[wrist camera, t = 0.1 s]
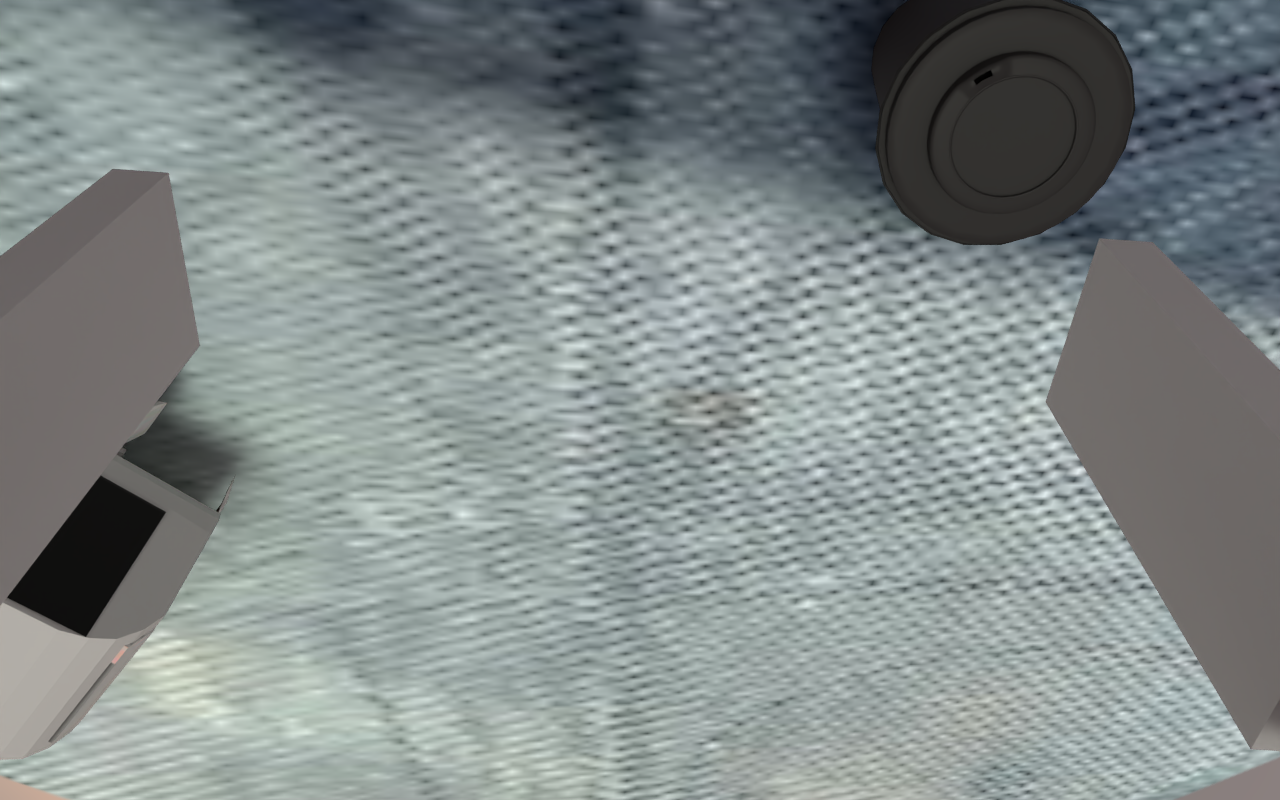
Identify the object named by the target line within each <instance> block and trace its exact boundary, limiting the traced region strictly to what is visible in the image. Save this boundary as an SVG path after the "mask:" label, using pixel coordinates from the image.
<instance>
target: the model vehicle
mask: <svg viewBox="0 0 1280 800" xmlns="http://www.w3.org/2000/svg"><path fill="white" fill-rule="evenodd" d="M167 403H168V402H161V401H157V402H156V403H155V405H154V406H153V407H152V409H151V410H150V411H149V413H148V414H147V415H146V416H145V418H144V419H143V420H142V422H141V423H140V424H139V426H138V427H137V428H136V430H135V431H134V432H133V433H132V435H131V436H130V437H129V439H128V440H127V441H126V443H127V442H129V441H131V440H133V439H135V438H137V437H139V436H141V435H143V434H145V433H146V431H147V430H148V429H149V427H150V426H151V425H152V423H153V422H154V420H155V419H156V418H157V416H158V415H159V414H160V412H161V411H162V410H163V408H164V407H165V405H166V404H167ZM125 452H126V449H124V448H121V449H120V450H119V452H118V453H117V454H116V456H115V457H114V458H113V460H112V461H111V462H110V464H109V465H108V466H107V467H106V469H105V470H104V471H103V473H102V474H101V475H100V477H99V478H98V479H97V481H96V482H95V483H94V484H93V486H92V487H91V488H90V490H89V491H88V492H87V494H86V495H85V496H84V497H83V499H82V500H81V501H80V503H79V504H78V505H77V507H76V508H75V509H74V511H73V512H72V513H71V514H70V516H69V517H68V518H67V520H66V521H65V522H64V524H63V525H62V526H61V528H60V529H59V530H58V531H57V533H56V534H55V535H54V537H53V538H52V539H51V541H50V542H49V543H48V545H47V546H46V547H45V548H44V550H43V551H42V552H41V554H40V555H39V556H38V558H37V559H36V560H35V562H34V563H33V564H32V565H31V567H30V568H29V569H28V571H27V572H26V573H25V575H24V576H23V577H22V578H21V580H20V581H19V582H18V584H17V585H16V586H15V588H14V589H13V590H12V592H11V593H10V594H9V595H8V597H7V598H6V599H5V601H4V602H3V603H2V605H1V606H0V760H5V759H23V758H26V757H28V756H30V755H33V754H35V753H38V752H40V751H42V750H45V749H47V748H49V747H51V746H52V745H53V744H55V743H56V742H57V741H59V740H60V739H62V738H63V737H64V736H66V735H67V734H68V733H70V732H71V731H72V730H73V729H74V728H75V727H76V726H77V725H78V724H79V723H80V721H81V720H82V719H83V718H84V716H85V715H86V714H87V713H88V711H89V710H90V709H91V708H92V706H93V705H94V704H95V703H96V702H97V700H98V699H99V698H100V697H101V695H102V694H103V693H104V692H105V690H106V689H107V688H108V687H109V685H110V684H111V683H112V682H113V680H114V679H115V678H116V677H117V676H118V674H119V673H120V672H121V671H122V669H123V668H124V667H125V666H126V664H127V663H128V662H129V661H130V659H131V658H132V657H133V656H134V654H135V653H136V652H137V651H138V649H139V648H140V647H141V646H142V645H143V643H144V642H145V641H146V640H147V638H148V637H149V636H150V635H151V633H152V632H153V631H154V629H155V627H156V626H157V625H158V623H159V622H160V621H161V620H162V618H163V617H164V616H165V615H166V613H167V611H168V609H169V608H170V606H171V604H172V602H173V601H174V599H175V597H176V595H177V593H178V592H179V590H180V588H181V586H182V585H183V583H184V581H185V579H186V578H187V576H188V574H189V572H190V571H191V569H192V567H193V565H194V564H195V562H196V560H197V558H198V557H199V555H200V553H201V551H202V550H203V548H204V546H205V544H206V542H207V541H208V539H209V537H210V535H211V534H212V532H213V530H214V528H215V526H216V524H217V523H218V521H219V518H220V512H221V511H222V510H223V507H224V506H225V504H226V503H227V500H228V497H229V494H230V491H231V487H232V484H233V481H234V478H235V476H234V478H233V479H232V480H233V481H231V484H230V486H229V488H228V490H227V492H226V495H225V497H224V499H223V501H222V503H221V505H220V506H219V508H218V509H217V510H216V511H215V510H213V509H211V508H210V507H208V506H206V505H204V504H203V503H201V502H199V501H197V500H195V499H194V498H192V497H190V496H188V495H187V494H185V493H183V492H181V491H180V490H178V489H176V488H174V487H173V486H171V485H169V484H167V483H166V482H164V481H162V480H160V479H159V478H157V477H155V476H153V475H152V474H150V473H148V472H146V471H144V470H143V469H141V468H139V467H137V466H136V465H134V464H132V463H130V462H129V461H127V460H125V459H123V458H122V456H123V455H124V453H125ZM235 475H236V474H235Z"/></svg>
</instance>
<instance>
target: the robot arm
mask: <svg viewBox="0 0 1280 800" xmlns="http://www.w3.org/2000/svg"><path fill="white" fill-rule="evenodd" d="M199 346H200V344H199V338H198V333H197V327H196V322H195V316H194V311H193V305H192V300H191V294H190V289H189V283H188V278H187V272H186V267H185V261H184V255H183V250H182V244H181V239H180V233H179V228H178V222H177V217H176V211H175V206H174V200H173V195H172V189H171V184H170V178H169V173H163V172H149V171H135V170H120V169H112V170H111V171H110V172H108V173H107V174H106V175H105V176H103V177H102V178H101V179H99V180H98V181H97V182H96V183H94V184H93V185H92V186H90V187H89V188H88V189H87V190H85V191H84V192H83V193H81V194H80V195H79V196H77V197H76V198H75V199H74V200H72V201H71V202H70V203H68V204H67V205H66V206H65V207H63V208H62V209H61V210H59V211H58V212H57V213H56V214H54V215H53V216H52V217H50V218H49V219H48V220H46V221H45V222H44V223H43V224H41V225H40V226H39V227H37V228H36V229H35V230H34V231H32V232H31V233H30V234H28V235H27V236H26V237H25V238H23V239H22V240H21V241H19V242H18V243H17V244H16V245H14V246H13V247H12V248H10V249H9V250H8V251H6V252H5V253H4V254H3V255H1V256H0V606H1V605H2V603H3V602H4V601H5V599H6V598H7V597H8V595H9V594H10V593H11V592H12V590H13V589H14V588H15V586H16V585H17V584H18V582H19V581H20V580H21V578H22V577H23V576H24V575H25V573H26V572H27V571H28V569H29V568H30V567H31V565H32V564H33V563H34V562H35V560H36V559H37V558H38V556H39V555H40V554H41V552H42V551H43V550H44V548H45V547H46V546H47V545H48V543H49V542H50V541H51V539H52V538H53V537H54V535H55V534H56V533H57V531H58V530H59V529H60V528H61V526H62V525H63V524H64V522H65V521H66V520H67V518H68V517H69V516H70V514H71V513H72V512H73V511H74V509H75V508H76V507H77V505H78V504H79V503H80V501H81V500H82V499H83V497H84V496H85V495H86V494H87V492H88V491H89V490H90V488H91V487H92V486H93V484H94V483H95V482H96V481H97V479H98V478H99V477H100V475H101V474H102V473H103V471H104V470H105V469H106V467H107V466H108V465H109V464H110V462H111V461H112V460H113V458H114V457H115V456H116V454H117V453H118V452H119V450H120V449H121V448H122V447H123V445H124V444H125V443H126V441H127V440H128V439H129V437H130V436H131V435H132V433H133V432H134V431H135V430H136V428H137V427H138V426H139V424H140V423H141V422H142V420H143V419H144V418H145V416H146V415H147V414H148V413H149V411H150V410H151V409H152V407H153V406H154V405H155V403H156V402H157V401H158V400H159V398H160V397H161V396H162V394H163V393H164V392H165V390H166V389H167V388H168V386H169V385H170V384H171V383H172V381H173V380H174V379H175V377H176V376H177V375H178V373H179V372H180V371H181V369H182V368H183V367H184V366H185V364H186V363H187V362H188V360H189V359H190V358H191V356H192V355H193V354H194V352H195V351H196V350H197V349H198V347H199ZM1046 403H1047V405H1048V407H1049V408H1050V410H1051V412H1052V413H1053V415H1054V417H1055V419H1056V420H1057V422H1058V424H1059V425H1060V427H1061V429H1062V430H1063V432H1064V434H1065V435H1066V437H1067V439H1068V441H1069V442H1070V444H1071V446H1072V447H1073V449H1074V451H1075V452H1076V454H1077V456H1078V457H1079V459H1080V461H1081V463H1082V464H1083V466H1084V468H1085V469H1086V471H1087V473H1088V474H1089V476H1090V478H1091V479H1092V481H1093V483H1094V485H1095V486H1096V488H1097V490H1098V491H1099V493H1100V495H1101V496H1102V498H1103V500H1104V501H1105V503H1106V505H1107V507H1108V508H1109V510H1110V512H1111V513H1112V515H1113V517H1114V518H1115V520H1116V522H1117V523H1118V525H1119V527H1120V529H1121V530H1122V532H1123V534H1124V535H1125V537H1126V539H1127V540H1128V542H1129V544H1130V545H1131V547H1132V549H1133V551H1134V552H1135V554H1136V556H1137V557H1138V559H1139V561H1140V562H1141V564H1142V566H1143V567H1144V569H1145V571H1146V573H1147V574H1148V576H1149V578H1150V579H1151V581H1152V583H1153V584H1154V586H1155V588H1156V589H1157V591H1158V593H1159V595H1160V596H1161V598H1162V600H1163V601H1164V603H1165V605H1166V606H1167V608H1168V610H1169V611H1170V613H1171V615H1172V617H1173V618H1174V620H1175V622H1176V623H1177V625H1178V627H1179V628H1180V630H1181V632H1182V633H1183V635H1184V637H1185V639H1186V640H1187V642H1188V644H1189V645H1190V647H1191V649H1192V650H1193V652H1194V654H1195V656H1196V657H1197V659H1198V661H1199V662H1200V664H1201V666H1202V667H1203V669H1204V671H1205V672H1206V674H1207V676H1208V678H1209V679H1210V681H1211V683H1212V684H1213V686H1214V688H1215V689H1216V691H1217V693H1218V694H1219V696H1220V698H1221V700H1222V701H1223V703H1224V705H1225V706H1226V708H1227V710H1228V711H1229V713H1230V715H1231V716H1232V718H1233V720H1234V722H1235V723H1236V725H1237V727H1238V728H1239V730H1240V732H1241V733H1242V735H1243V737H1244V738H1245V740H1246V742H1247V744H1248V745H1249V747H1250V749H1256V750H1273V751H1280V370H1279V369H1278V368H1277V367H1276V366H1275V365H1274V364H1273V363H1272V362H1271V361H1270V360H1269V359H1268V358H1267V357H1266V356H1265V355H1264V354H1263V353H1262V352H1261V351H1260V350H1259V349H1258V348H1257V347H1256V346H1255V345H1254V344H1253V343H1252V342H1251V341H1250V340H1249V339H1248V338H1247V337H1246V336H1245V335H1244V334H1243V333H1242V332H1241V331H1240V330H1239V329H1238V328H1237V327H1236V326H1235V325H1234V324H1233V323H1232V322H1231V321H1230V320H1229V319H1228V318H1227V317H1226V316H1225V315H1224V314H1223V313H1222V312H1221V311H1220V310H1219V309H1218V308H1217V307H1216V306H1215V305H1214V304H1213V303H1212V302H1211V301H1210V300H1209V299H1208V298H1207V297H1206V296H1205V295H1204V294H1203V292H1202V291H1201V290H1200V289H1199V288H1198V287H1197V286H1196V285H1195V284H1194V283H1193V282H1192V281H1191V280H1190V279H1189V278H1188V277H1187V276H1186V275H1185V274H1184V273H1183V272H1182V271H1181V270H1180V269H1179V268H1178V267H1177V266H1176V265H1175V264H1174V263H1173V262H1172V261H1171V260H1170V259H1169V258H1168V257H1167V256H1166V255H1165V254H1164V253H1163V252H1162V251H1161V250H1160V249H1159V248H1158V247H1157V246H1156V245H1155V244H1154V243H1153V242H1141V241H1127V240H1113V239H1099V241H1098V244H1097V247H1096V250H1095V253H1094V256H1093V260H1092V263H1091V266H1090V269H1089V272H1088V275H1087V278H1086V281H1085V284H1084V287H1083V290H1082V293H1081V296H1080V299H1079V302H1078V305H1077V308H1076V311H1075V314H1074V317H1073V320H1072V323H1071V326H1070V329H1069V333H1068V336H1067V339H1066V342H1065V345H1064V348H1063V351H1062V354H1061V357H1060V360H1059V363H1058V366H1057V369H1056V372H1055V375H1054V378H1053V381H1052V384H1051V387H1050V390H1049V393H1048V396H1047V399H1046Z"/></svg>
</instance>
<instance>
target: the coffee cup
mask: <svg viewBox="0 0 1280 800" xmlns="http://www.w3.org/2000/svg"><path fill="white" fill-rule="evenodd" d="M871 70H872V75H873V80H874V85H875V89H876V94H877V98H878V103H879V107H880V113H879V121H878V130H877V138H876V147H875V149H876V153H877V158H878V162H879V167H880V172H881V176H882V181H883V184H884V186H885V187H886V189H887V191H888V192H889V194H890V195H891V197H892V198H893V200H894V202H895V203H896V205H897V206H898V208H899V209H900V211H901V213H902V214H904V215H905V216H906V217H908V218H909V219H910V220H912V221H913V222H914V223H916V224H917V225H918V226H920V227H921V228H922V229H924V230H925V231H926V232H928V233H929V234H931V235H934V236H937V237H941V238H944V239H947V240H950V241H953V242H957V243H960V244H963V245H1002V244H1006V243H1009V242H1013V241H1016V240H1020V239H1024V238H1027V237H1031V236H1034V235H1038V234H1041V233H1042V232H1044V231H1046V230H1047V229H1049V228H1051V227H1053V226H1055V225H1057V224H1059V223H1061V222H1062V221H1063V220H1065V219H1066V218H1068V217H1069V216H1071V215H1073V214H1074V213H1076V212H1077V211H1078V210H1079V209H1080V208H1081V207H1082V206H1083V205H1084V204H1085V203H1087V202H1088V201H1089V200H1090V199H1091V198H1092V197H1093V196H1094V194H1095V193H1096V192H1097V191H1098V190H1099V189H1100V188H1101V187H1102V186H1103V185H1104V184H1105V182H1106V180H1107V179H1108V177H1109V175H1110V174H1111V172H1112V171H1113V169H1114V167H1115V165H1116V163H1117V161H1118V160H1119V158H1120V156H1121V155H1122V153H1123V151H1124V149H1125V148H1126V144H1127V140H1128V136H1129V132H1130V128H1131V124H1132V119H1133V115H1134V111H1135V98H1134V86H1133V74H1132V68H1131V66H1130V64H1129V62H1128V60H1127V58H1126V55H1125V53H1124V51H1123V49H1122V47H1121V45H1120V43H1119V41H1118V39H1117V37H1116V35H1115V34H1114V33H1113V32H1112V31H1111V30H1110V29H1108V28H1107V27H1106V26H1105V25H1104V24H1103V23H1102V22H1101V21H1099V20H1098V19H1097V18H1096V17H1095V16H1094V15H1093V14H1092V13H1091V12H1089V11H1088V10H1087V9H1084V8H1082V7H1079V6H1076V5H1073V4H1071V3H1068V2H1065V1H1062V0H909V1H907V2H906V3H904V4H903V5H902V6H900V7H899V8H897V10H896V11H895V12H894V13H893V15H892V16H891V17H890V18H889V20H888V21H887V22H886V23H885V24H884V26H883V27H882V30H881V32H880V34H879V37H878V39H877V41H876V44H875V46H874V50H873V59H872V68H871Z"/></svg>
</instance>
